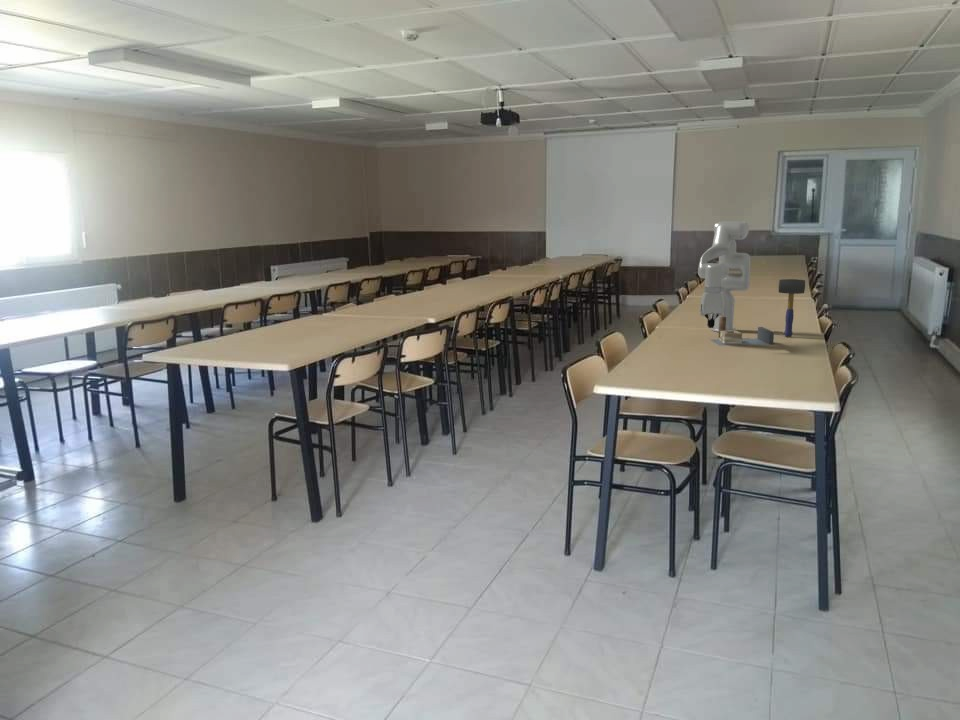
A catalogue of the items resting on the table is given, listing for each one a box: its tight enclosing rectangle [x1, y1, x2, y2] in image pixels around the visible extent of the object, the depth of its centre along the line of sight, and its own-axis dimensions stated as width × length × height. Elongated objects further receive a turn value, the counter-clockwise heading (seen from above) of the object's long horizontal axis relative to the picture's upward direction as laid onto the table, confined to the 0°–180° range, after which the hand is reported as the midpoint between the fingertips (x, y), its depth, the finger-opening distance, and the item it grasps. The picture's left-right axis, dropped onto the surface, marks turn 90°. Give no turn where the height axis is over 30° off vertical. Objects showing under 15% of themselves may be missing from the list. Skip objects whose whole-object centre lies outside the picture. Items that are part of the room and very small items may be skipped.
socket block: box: [719, 330, 743, 344], centre depth 346 cm, size 8×8×5 cm
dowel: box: [718, 317, 726, 339], centre depth 358 cm, size 3×3×12 cm
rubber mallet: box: [778, 278, 806, 338], centre depth 361 cm, size 12×8×30 cm, turn 66°
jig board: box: [710, 326, 775, 346], centre depth 346 cm, size 15×26×8 cm, turn 90°
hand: (710, 327), depth 345 cm, fingers closed
